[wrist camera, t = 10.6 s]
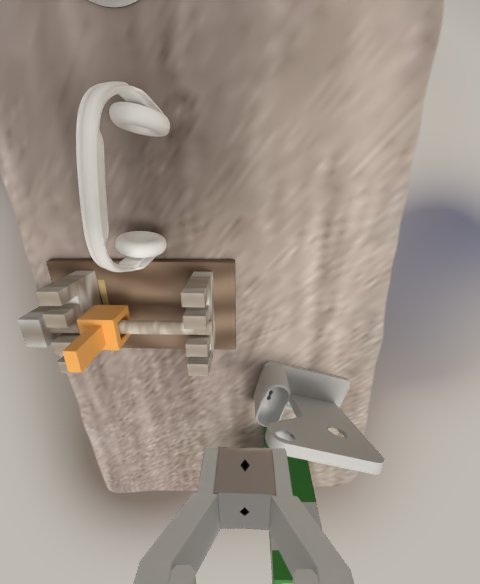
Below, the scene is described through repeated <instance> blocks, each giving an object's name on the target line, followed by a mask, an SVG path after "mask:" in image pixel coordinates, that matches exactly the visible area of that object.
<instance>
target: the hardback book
mask: <svg viewBox="0 0 480 584" xmlns="http://www.w3.org/2000/svg"><path fill="white" fill-rule="evenodd" d="M266 431H267V427H265V426H264V439H265V435H266ZM281 439H283V438H281ZM284 440H285V439H284ZM286 441H287V440H286ZM265 448H269V446H268V445H267V443H266V440H265ZM287 459H288V466H289V473H290V479H291V486H292V493H293V496H297V497H298V498H299V499H300V501H301V502H302V504H303V505H304V506H305V508H306V509H307V510H308V512H309V513H310V515H311V516H312V517H313V519H314V520H315V522H316V523H317V524H318V526H319V527H320V528H321V530H322V527H321V522H320V517H319V513H318V508H317V504H316V498H315V494H314V489H313V484H312V480H311V475H310V470H309V466H308V461H307V460H303V459H298V458H294V457H289V456H287ZM269 535H270V551H271V569H272V584H292V582H293V577H292V575H291V573H290V571H289V569H288V567H287V565H286V563H285V561H284V560H283V558H282V556H281V554H280V552H279V550H278V548H277V546H276V544H275V542H274V540H273V538H272V536H271V534H270V532H269Z"/></svg>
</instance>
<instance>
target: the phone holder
mask: <svg viewBox="0 0 480 584" xmlns="http://www.w3.org/2000/svg"><path fill="white" fill-rule="evenodd" d="M349 387H350V383H349V381H348V379H347V378H344V377H340V376H336V375H331V374H327V373H323V372H318V371H314V370H310V369H305V368H301V367H297V366H292V365H288V364H284V363H279V362H275V361H268V362H266V363H265V364H264V366H263V369H262V372H261V375H260V378H259V380H258V383H257V386H256V389H255V392H254V400H255V417H256V421H257V422H258V423H259V424H260V425H262V426H265V427H267V431H266V435H265V440H266V443H267V445H268V446H269V448H271V449H272V448H285V450H286V452H287V456H289V457H294V458H298V459H303V460H308V461H313V462H317V463H322V464H327V465H332V466H336V467H341V468H346V469H351V470H356V471H361V472H366V473H370V474H380V473H381V469H382V466H383V462H384V459H383V457H382V455H381V454H380V453H379V452H378V451H377V450H376V449H375V448H374V446H373V445H372V444H371V443H370V442H369V441H368V440H367V439H366V438H365V436H364V435H363V434H362V433H361V432H360V431H359V430H358V429H357V427H356V426H355V425H354V424H353V423H352V422H351V421H350V420H349V418H348V417H347V416H346V415H345V414H344V413H343V412H342V411H341V409H340V408H339V407H340V405H341V403H342V401H343V399H344V397H345V395H346V393H347V391H348V389H349ZM285 409H288V410H293V411H294V413H295V415H296V417H297V418H294V419H289V420H284V421H280V420H281V417H282V415H283V412H284V410H285ZM328 428H335V429H337V430H338V431H339V432H340V433H341V434H343V435H344V436H345V437H339V436H337V435H335V434H333V433H331V432H330V431H329V430H328ZM281 438H283V439H281ZM284 439H285V440H284ZM286 440H287V441H286Z"/></svg>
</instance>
